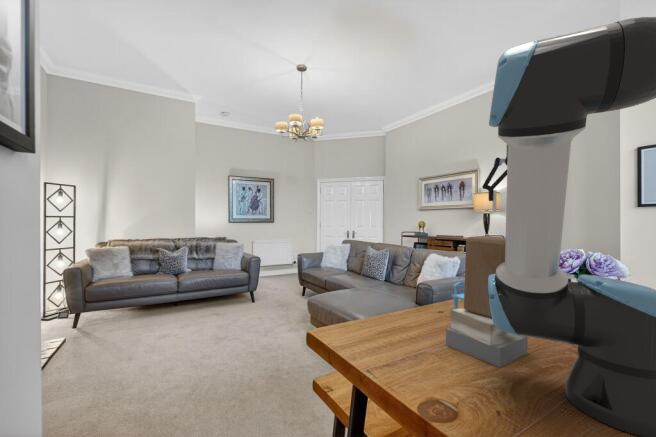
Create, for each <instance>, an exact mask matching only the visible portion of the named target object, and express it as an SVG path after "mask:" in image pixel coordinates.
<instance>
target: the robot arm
mask: <svg viewBox="0 0 656 437" xmlns="http://www.w3.org/2000/svg"><path fill="white" fill-rule="evenodd" d="M654 99H656V16H641V17H632V18H628V19H623V20H618V21H615V22H613V23H608V24H605V25H600V26H596V27H591V28H590V27H589V28H587V29H581V30H578V31H577V30H576V31H572V32H570V33H563V34H559V35H555V36H551V37H546V38H541V39H537V40H532V41H531V42H528V43H524V44H521V45H518V46H514V47H512V48H509V49H507V50H505V51H504V52H503V53H502V54H501V55H500V57H499V59H498V61H497V67H496V71H495V79H494V86H493V93H492V97H491V104H490V105H491V106H490V111H489V112H490V113H489V120H488V126H489V127H493V128H497V137H498V138H499V139H500V140H501V141H502V142H504V143H505V144H506V157H505V158H500V157H496V158H495V159H494V163H493V166H492V169H491V171H489V174H488V176H487V177H486V179H485V181H484V182H483V184H482V186H481V187H482V188H481V189H483V190H485V191H486V190H487V191H488V202H492V211H491V212H492V213H497V190H496V187H497V186H498V185H499V184H500V183H501V182H502V181H503V180H504V179H505V178H506V201H505V202H506V205H505V206H506V207H505V262H504V263H502V264H500V265H499V266H498V267H497V269H496V274H491V275H489V277H488V292H489V303H490V310H491V316H492V320H493V323H494V325H495V326H496V327H497V328H498V329H499V330H501V331H504V332H508V333H513V334H515V335H518V336H520V335H524V336H528V337H531V338H535V339H542V340H548V341H554V342H557V343H563V344H564V343H565V344H570V345H571V344H572V345H576V346H577V355H576V356H577V357H576V358H575V361H574V363H573V365H572V367H571V369H570V371H569V373H568V375H567V377H566V380H565V390H564V391H565V396H566V398H567V399H568V401H569V402H570V403H571V404H572V405H573V406H575V407H576V408H577V409H579V410H580V411H581V412H582V413H584V414H586V415H587V416H589V417H591V418H593V419H595V420H597V422H598V421H599V422H601V423H603V424H605V425H606V426H607V425H608V426H610V427H612V428H614V429H617V430H620V431H622V432H625V433H628V434H630V435H631V434H632V435H634V436H639V437H656V289H655V288H652V287H649V286H645V285H642V284H638V283H633V282H629V281H627V280H626V281H625V280H620V279H614V278H612V277H611V278H610V277H605V276H600V275H593V274H592V275H591V274H580V275H579V276H578V278H576V282H575V281H571V282H568V279H569V277H568V276H567V274H566V273H565V271H563V269H561V268H560V261H561V260H560V259H561V249H562V240H563V239H562V238H563V228H564V220H565V219H564V218H565V208H566V198H567V197H566V196H567V188H568V179H569V178H568V177H569V166H570V156H571V147H572V145H571V144H572V141H573V139H574V138H575V137H576V136H578V135H579V134H580V133H582V131H584V130H585V129H586V126H587V119H588V118H587V116H588V115H592V114H599V113H605V112H611V111H612V112H614V111H620V110H623V109H627V108H631V107H636V106H638V105H642V104H644V103H645V104H646V102H650V101H652V100H654ZM503 163H504V164H505V165H506V167H507V168H506V170H504V171H503V173H501V175H500V176H499V177H498V178H497V179H496V180H495V181H494V182H493V183H492V184H491V185H489V184H490V183H491V181H492V179H493V178H494V177H495V174H496V173H497V170H498V168H499V167H500V166H502V165H503Z"/></svg>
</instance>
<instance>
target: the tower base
mask: <svg viewBox="0 0 656 437" xmlns="http://www.w3.org/2000/svg"><path fill="white" fill-rule="evenodd" d="M528 337H529V336H524V339H521V340H516V341H511V342H507V343H502V344H497V345H493V346H489V345H487V344H485V343H482V342H480V341H478V340H476V339H474V338H471V337H469V336H467V335H465V334H463V333H461V332H458V331H456V330H454V329H452V328H451V327H448V328H446V329H445V345H446V346H447V347H450V348H452V349H454V350H457V351H458V352H459V351H460V352H462V353H464V354H466V355H469V356H471V357H473V358H476V359H478V360H481V361H483V362H486V363H489V364H490V365H493V366H495V367H497V368H501V367H504V366H505V365H508V364H510V363H511V362H513V361H516V360H517V359H519V358H520V357H523V356H524V355H527V354H528V346H529V345H528V341H529V340H528Z"/></svg>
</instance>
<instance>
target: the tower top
mask: <svg viewBox="0 0 656 437" xmlns="http://www.w3.org/2000/svg"><path fill="white" fill-rule="evenodd" d="M450 328H452V329H454V330H456V331H458V332H461V333H463V334H465V335H467V336H469V337H471V338H474V339H476V340H478V341H480V342H482V343H485V344H487V345H489V346H493V345H497V344H502V343H507V342H511V341H516V340H521V339H524V335H520V336H518V335H515V334H513V333H508V332H504V331H501V330H499V329H498V328H497V327H496V326H495V325H494V323H493V320H492V318H491V317H487V316H484V315H480V314H477V313H473V312H470V311H467V310H465V309H464V307H462V308H461V307H460V308H457V309H454V308H453V309H451V310H450Z"/></svg>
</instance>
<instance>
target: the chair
mask: <svg viewBox="0 0 656 437" xmlns="http://www.w3.org/2000/svg"><path fill="white" fill-rule="evenodd" d="M459 286H461V287H463V288H464V287H465V281H458V282H456V283H455V284H454V285H452V287H453V290H454V292H453V294H451V297H452V299H453V309H458V302H459V299H460V300H462V301H464V292H461V293H458V290H457V287H459Z"/></svg>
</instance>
